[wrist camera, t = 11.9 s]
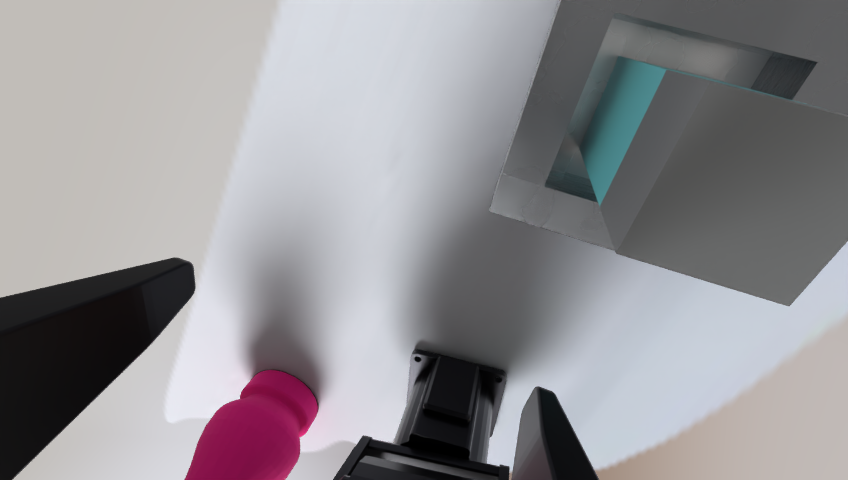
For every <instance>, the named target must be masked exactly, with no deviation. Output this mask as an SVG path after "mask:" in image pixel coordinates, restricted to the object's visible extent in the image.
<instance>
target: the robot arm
mask: <svg viewBox="0 0 848 480" xmlns="http://www.w3.org/2000/svg"><path fill="white" fill-rule="evenodd" d="M194 291H195V276H194V267H193V265H192V263H191V262H189V261H186V260H183V259H180V258H170V259H166V260H162V261H158V262H153V263H149V264H145V265H140V266H136V267H132V268H127V269H123V270H118V271H114V272H110V273H105V274H101V275H97V276H92V277H88V278H84V279H79V280H75V281H71V282H66V283H62V284H58V285H54V286H49V287H45V288H40V289H36V290H32V291H28V292H23V293H19V294H14V295H10V296H6V297H1V298H0V480H12V479H14V477H16V476H17V475H18V474H19V473H20V472H21V471H22V470H23V469H24V468H25V467H26V466H27V465H28V464H29V463H30V462H31V461H32V460H33V459H34V458H35V457H36V456H37V455H38V454H39V453H40V452H41V451H42V450H43V449H44V448H45V447H46V446H47V445H48V444H49V443H50V442H51V441H52V440H53V439H54V438H56V437H57V436H58V434H60V433H61V432H62V431H63V430H64V429H65V428H66V427H67V426H68V425H69V424H70V423H71V422H72V421H73V420H74V419H75V418H76V417H77V416H78V415H79V414H80V413H81V412H82V411H83V410H84V409H85V408H86V407H87V406H88V405H89V404H90V403H91V402H92V401H93V400H94V399H96V398H97V397H98V395H100V394H101V393H102V392H103V391H104V390H105V388H107V387H108V386H109V385H110V384H111V383H112V382H113V381H114V380H115V379H116V378H117V377H118V376H119V375H120V374H121V373H122V372H123V371H124V370H125V369H126V368H127V367H128V366H129V365H130V364H131V363H132V362H133V361H134V360H135V359H136V358H137V357H138V356H140V355H141V354H142V353H143V352H144V351H145V350H146V349H147V347H148V346H150V344H151V343H152V342H153V341H154V340H155V339H156V338H157V337H158V336H159V335H160V334H161V332H162V331H163V330H164V329H165V328H166V326H167V325H168V324H169V323H170V322H171V320H172V319H173V318H174V317H175V316H176V315H177V313H178V312H179V311H180V309H182V308H183V306H184V305H185V304H186V303H187V302H188V300H189V299H190V298H191V297H192V295H193V294H194ZM418 357H420V358H418ZM497 377H500V378H497ZM506 378H507V375H506V373H505V372H504V371H502V370H499V369H495V368H491V367H487V366H483V365H479V364H475V363H471V362H467V361H463V360H459V359H455V358H451V357H447V356H443V355H438V354H434V353H430V352H426V351H422V350H414V351H413V353H412V356H411V360H410V371H409V383H408V394H407V405H406V408H405V411H404V414H403V417H402V419H401V422H400V425H399V428H398V431H397V434H396V436H395V439H394V442H393V443H388V442H384V441H379V440H374V439H372V437H368V436H362V438H361V439H360V441H359V442H358V444H357V445H356V446H355V447H354V449H353V450H352V452H351V453H350V455H349V456H348V458H347V459H346V461H345V463H344V464H343V465H342V467H341V468H340V470H339V471H338V473H337V474H336V476H335V477H334V479H333V480H509V466H504V465H500V466H496V465H491V464H486V463H487V454H488V446H489V438H490V437H491V436H492V434H493V430H494V427H495V423H496V419H497V415H498V411H499V407H500V404H501V400H502V396H503V392H504V388H505V384H506ZM512 480H599V478H598V476H597V474H596V472H595V471H594V469H593V467H592V465H591V463H590V461H589V459H588V457H587V455H586V453H585V451H584V449H583V447H582V445H581V443H580V441H579V440H578V438H577V436H576V434H575V432H574V430H573V428H572V426H571V424H570V422H569V420H568V418H567V416H566V414H565V412H564V410H563V408H562V407H561V405H560V403H559V401H558V399H557V397H556V395H555V394H554V393H553V392H552V391H550V390H547V389H544V388H541V387H535V388H534V390H533V391H532V393H531V395H530V397H529V399H528V400H527V402H526V404H525V406H524V408H523V411H522V414H521V419H520V426H519V432H518V439H517V446H516V452H515V459H514V466H513V473H512Z"/></svg>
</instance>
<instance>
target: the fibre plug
mask: <svg viewBox="0 0 848 480" xmlns="http://www.w3.org/2000/svg"><path fill="white" fill-rule="evenodd" d="M580 152H581V155H582V158H583V161H584V164H585V167H586V169H587V172H588V175H589V178H590V181H591V184H592V187H593V189H594V192H595V195H596V198H597V201H598V204H599V207H600V209H601V212H602V215H603V218H604V221H605V224H606V227H607V229H608V232H609V235H610V238H611V241H612V244H613V246H614V249H615V252H616V254H619V255H623V256H626V257H629V258H632V259H636V260H639V261H642V262H645V263H649V264H652V265H655V266H659V267H662V268H665V269H668V270H672V271H675V272H678V273H681V274H685V275H688V276H691V277H694V278H698V279H701V280H704V281H708V282H711V283H714V284H717V285H721V286H724V287H727V288H730V289H734V290H737V291H740V292H743V293H747V294H750V295H753V296H756V297H760V298H763V299H766V300H770V301H773V302H776V303H779V304H783V305H786V306H790V305H791V304H792V303H793V302H794V301H795V299H796V298H797V297H798V296H799V295H800V294H801V293H802V292H803V290H804V289H805V288H806V287H807V286H808V285H809V284H810V283H811V281H812V280H813V279H814V278H815V277H816V276H817V275H818V274H819V272H820V271H821V270H822V269H823V268H824V267H825V266H826V265H827V264H828V262H829V261H830V260H831V259H832V258H833V257H834V256H835V255H836V253H837V252H838V251H839V250H840V249H841V248H842V247H843V246H844V244H845V243H846V242H847V241H848V115H846V114H842V113H838V112H835V111H831V110H827V109H823V108H820V107H816V106H812V105H808V104H805V103H801V102H797V101H793V100H790V99H786V98H782V97H779V96H775V95H771V94H767V93H764V92H760V91H756V90H752V89H749V88H745V87H741V86H737V85H734V84H730V83H726V82H722V81H719V80H715V79H710V78H706V77H702V76H698V75H694V74H690V73H686V72H682V71H678V70H674V69H670V68H666V67H662V66H658V65H654V64H650V63H646V62H642V61H638V60H634V59H630V58H626V57H622V56H619V57H618V59H617V62H616V64H615V66H614V69H613V71H612V73H611V76H610V78H609V80H608V83H607V85H606V88H605V90H604V92H603V95H602V97H601V99H600V102H599V104H598V106H597V109H596V111H595V113H594V116H593V118H592V120H591V123H590V125H589V128H588V130H587V132H586V135H585V137H584V139H583V142H582V144H581V146H580Z"/></svg>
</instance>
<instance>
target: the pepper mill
mask: <svg viewBox="0 0 848 480" xmlns="http://www.w3.org/2000/svg"><path fill="white" fill-rule="evenodd" d="M317 411H318V405H317V402H316V398H315V397H314V395H313V393H312V392H311V390H310V389H309V388H308V387H307V386H306V385H305V384H304V383H303V382H301V381H300V380H299V379H297V378H295V377H294V376H292V375H290V374H287V373H285V372H281V371H277V370H266V371H262V372H259V373H257V374H256V375H255V376H254V377H253V378H252V379H251V381H250V382H249V383H248V384H247V385H246V387H245V388H244V389H243V390H242V392H241V395H240V399H239V400H235V401H232V402H229V403H227V404H225V405H223V406H222V407H221V408H220V409H219V410H217V411H216V413H215V414H214V416H213V417H212V418H211V420H210V421H209V423H208V424H207V425H206V427H205V429H204V431H203V433H202V435H201V437H200V439H199V441H198V444H197V447H196V450H195V453H194V456H193V460H192V463H191V466H190V468H189V471H188V473H187V476H186V478H185V480H285V479H286V478H287V476H288V475H289V473H290V472H291V470H292V469H293V467H294V466H295V464H296V463H297V461H298V458H299V455H300V438H299V437H302V436H303V435H304V434H305V433H306V432H307V431H308V429H309V427H310V426H311V424H312V422H313V421H314V419H315V417H316V415H317Z"/></svg>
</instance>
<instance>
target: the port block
mask: <svg viewBox="0 0 848 480" xmlns="http://www.w3.org/2000/svg"><path fill="white" fill-rule="evenodd" d="M619 56H622V57H626V58H630V59H634V60H638V61H642V62H646V63H650V64H654V65H658V66H662V67H666V68H670V69H674V70H678V71H682V72H686V73H690V74H694V75H698V76H702V77H706V78H710V79H715V80H719V81H722V82H726V83H730V84H734V85H737V86H741V87H745V88H749V89H752V90H756V91H760V92H764V93H767V94H771V95H775V96H779V97H782V98H786V99H790V100H793V101H797V102H801V103H805V104H808V105H812V106H816V107H820V108H823V109H827V110H831V111H835V112H838V113H842V114H846V115H848V0H559V1H558V4H557V7H556V10H555V13H554V16H553V19H552V22H551V25H550V28H549V31H548V34H547V37H546V40H545V43H544V46H543V48H542V51H541V54H540V57H539V60H538V63H537V66H536V69H535V72H534V75H533V78H532V81H531V84H530V87H529V90H528V93H527V96H526V99H525V102H524V105H523V108H522V111H521V114H520V116H519V119H518V122H517V125H516V128H515V131H514V134H513V137H512V140H511V143H510V146H509V149H508V152H507V155H506V158H505V161H504V164H503V167H502V170H501V173H500V176H499V179H498V182H497V184H496V188H495V192H494V195H493V199H492V203H491V206H490V210H489V212H493V213H496V214H499V215H502V216H505V217H509V218H512V219H515V220H518V221H521V222H525V223H528V224H531V225H534V226H537V227H541V228H544V229H547V230H550V231H553V232H557V233H560V234H563V235H566V236H569V237H573V238H576V239H579V240H582V241H585V242H589V243H592V244H595V245H598V246H601V247H605V248H608V249H611V250H614V251H615V249H614V246H613V244H612V241H611V238H610V235H609V232H608V229H607V227H606V224H605V221H604V218H603V215H602V212H601V209H600V207H599V204H598V201H597V198H596V195H595V192H594V189H593V187H592V184H591V181H590V178H589V175H588V172H587V169H586V167H585V164H584V161H583V158H582V155H581V152H580V146H581V144H582V142H583V139H584V137H585V135H586V132H587V130H588V128H589V125H590V123H591V120H592V118H593V116H594V113H595V111H596V109H597V106H598V104H599V102H600V99H601V97H602V95H603V92H604V90H605V88H606V85H607V83H608V80H609V78H610V76H611V73H612V71H613V69H614V66H615V64H616V62H617V59H618V57H619Z"/></svg>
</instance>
